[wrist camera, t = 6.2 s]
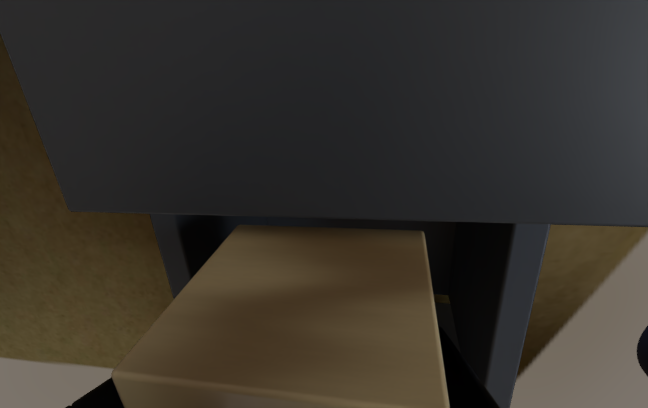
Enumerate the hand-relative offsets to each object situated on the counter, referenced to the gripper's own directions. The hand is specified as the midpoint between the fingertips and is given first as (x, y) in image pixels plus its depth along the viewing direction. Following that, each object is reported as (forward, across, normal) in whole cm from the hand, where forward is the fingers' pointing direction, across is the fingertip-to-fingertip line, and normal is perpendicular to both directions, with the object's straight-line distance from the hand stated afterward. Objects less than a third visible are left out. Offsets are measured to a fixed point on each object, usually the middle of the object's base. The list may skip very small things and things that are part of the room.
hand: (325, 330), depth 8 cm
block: (+1, 0, 0) cm, 1 cm away
